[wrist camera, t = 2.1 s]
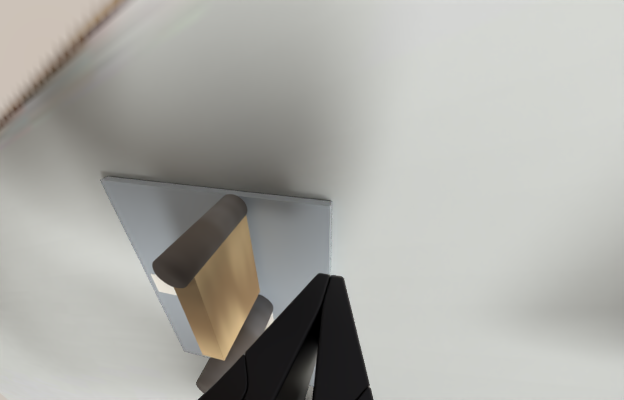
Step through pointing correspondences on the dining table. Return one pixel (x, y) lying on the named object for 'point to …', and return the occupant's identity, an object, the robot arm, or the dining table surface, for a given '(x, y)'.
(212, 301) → the fence panel
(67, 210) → the dining table surface
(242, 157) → the dining table surface
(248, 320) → the fixed fence
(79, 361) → the dining table surface
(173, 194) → the card
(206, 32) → the dining table surface
